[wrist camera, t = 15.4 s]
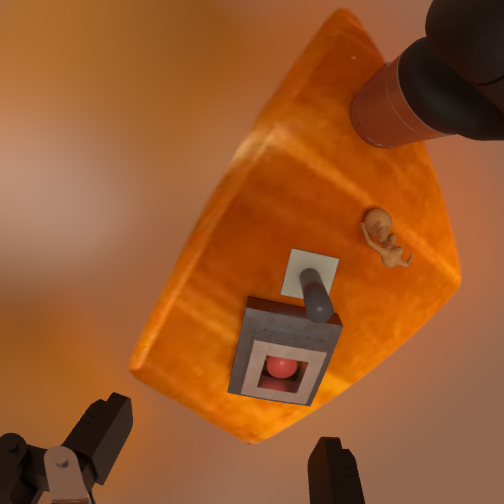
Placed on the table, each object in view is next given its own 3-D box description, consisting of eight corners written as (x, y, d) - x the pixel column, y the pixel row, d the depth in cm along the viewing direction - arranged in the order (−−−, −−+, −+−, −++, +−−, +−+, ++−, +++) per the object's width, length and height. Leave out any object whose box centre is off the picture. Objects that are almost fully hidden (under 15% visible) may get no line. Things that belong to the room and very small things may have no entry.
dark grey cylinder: (302, 266, 42) (310, 296, 31) (322, 270, 42) (336, 301, 31) (297, 285, 42) (303, 320, 32) (316, 289, 42) (328, 325, 32)
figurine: (401, 222, 39) (442, 239, 28) (382, 257, 41) (416, 286, 29) (356, 194, 39) (387, 202, 27) (336, 231, 41) (360, 253, 29)
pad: (291, 247, 42) (291, 248, 41) (338, 258, 41) (339, 259, 41) (280, 293, 43) (280, 294, 43) (325, 302, 43) (325, 303, 43)
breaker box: (248, 296, 44) (244, 317, 37) (337, 313, 44) (347, 336, 37) (230, 377, 48) (224, 404, 41) (308, 391, 48) (311, 418, 41)
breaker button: (271, 336, 45) (270, 352, 40) (298, 341, 45) (300, 357, 40) (264, 358, 46) (264, 375, 42) (291, 363, 46) (292, 380, 42)
